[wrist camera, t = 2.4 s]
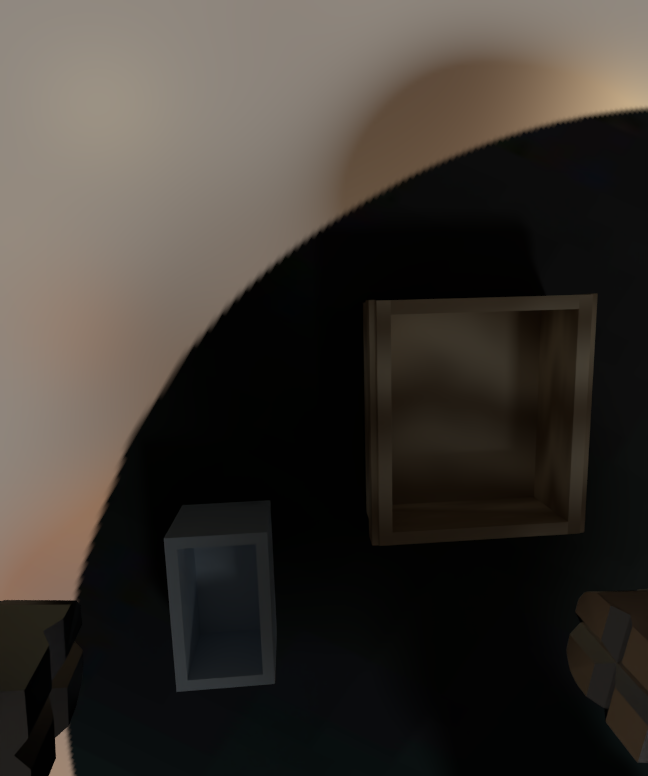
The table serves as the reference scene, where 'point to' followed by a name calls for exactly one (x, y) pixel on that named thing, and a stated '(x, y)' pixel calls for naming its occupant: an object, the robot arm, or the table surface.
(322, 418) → the table surface
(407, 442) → the pine crate
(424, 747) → the table surface
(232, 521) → the small crate
